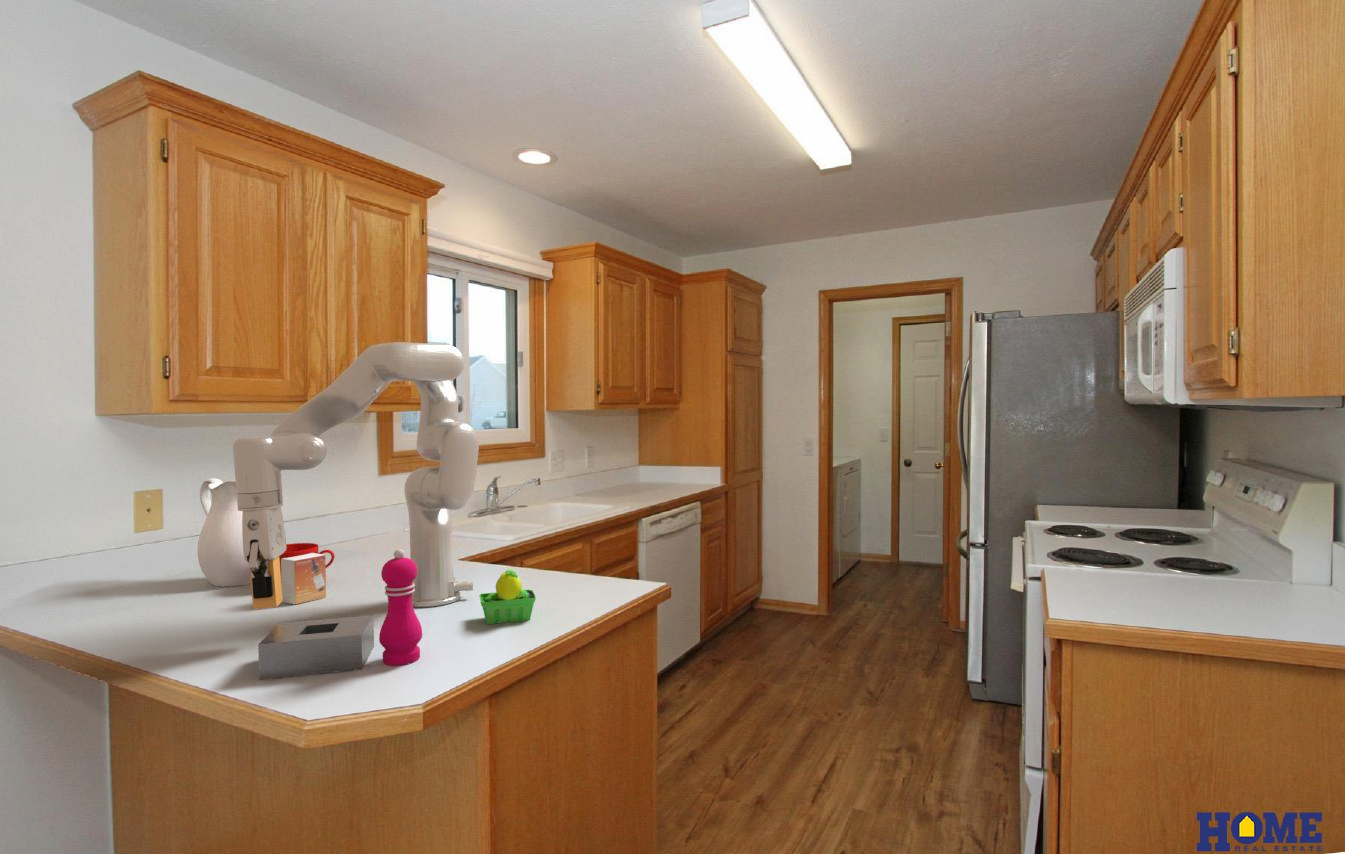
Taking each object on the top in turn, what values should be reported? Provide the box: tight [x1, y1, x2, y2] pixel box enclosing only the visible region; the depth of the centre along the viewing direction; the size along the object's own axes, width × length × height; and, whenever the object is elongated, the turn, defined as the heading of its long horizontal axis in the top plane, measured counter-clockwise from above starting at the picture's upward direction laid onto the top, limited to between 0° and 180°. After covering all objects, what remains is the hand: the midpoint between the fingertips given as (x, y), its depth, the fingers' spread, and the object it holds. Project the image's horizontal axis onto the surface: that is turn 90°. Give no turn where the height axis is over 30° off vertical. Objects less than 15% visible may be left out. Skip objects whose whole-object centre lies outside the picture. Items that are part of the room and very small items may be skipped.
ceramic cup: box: [279, 542, 335, 585], centre depth 179 cm, size 13×17×10 cm
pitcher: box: [197, 477, 251, 587], centre depth 185 cm, size 24×17×28 cm
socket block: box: [257, 615, 375, 681], centre depth 123 cm, size 16×12×6 cm
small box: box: [281, 553, 327, 606], centre depth 164 cm, size 8×6×10 cm
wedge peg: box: [249, 553, 283, 610], centre depth 132 cm, size 4×4×11 cm
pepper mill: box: [378, 548, 423, 667], centre depth 123 cm, size 7×7×20 cm
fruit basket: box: [478, 569, 537, 625], centre depth 146 cm, size 11×9×11 cm
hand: (267, 593), depth 133 cm, fingers closed on wedge peg, 4 cm apart
